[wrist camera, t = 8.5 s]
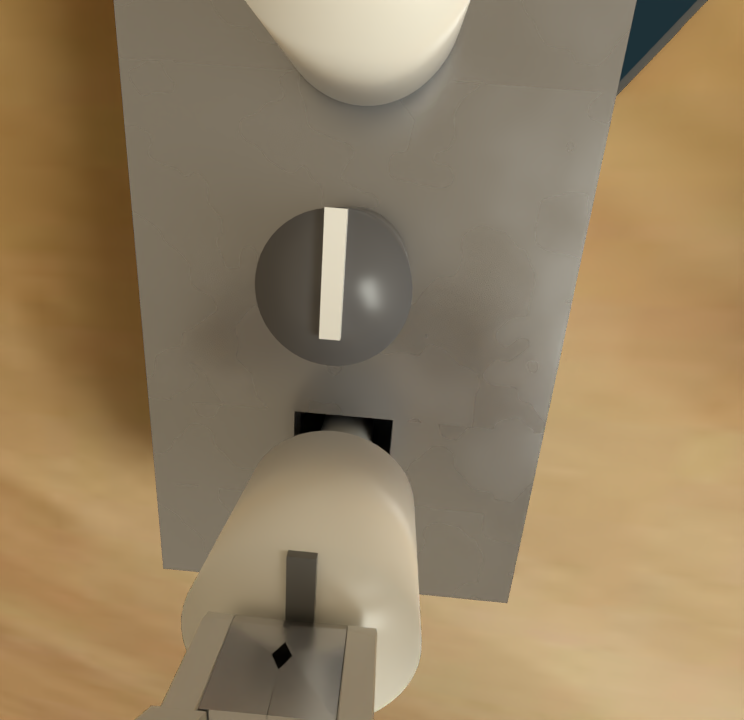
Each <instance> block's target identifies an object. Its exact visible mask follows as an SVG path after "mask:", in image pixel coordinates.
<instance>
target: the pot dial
mask: <svg viewBox="0 0 744 720" xmlns="http://www.w3.org/2000/svg"><path fill="white" fill-rule="evenodd" d="M412 290H413V286H412V276H411V271H410V266H409V260H408V255H407V251H406V247H405V244H404V241H403V239H402V237H401V235H400V234H399V232H398V231H397V229H396V228H395V227H394V226H393V225H392V224H391V222H389V221H388V220H387V219H386V218H385V217H383V216H381V215H380V214H378V213H376V212H374V211H372V210H369V209H365V208H360V207H334V208H332V207H325V208H321V209H315V210H311V211H307V212H304V213H302V214H299V215H297V216H295V217H293V218H292V219H290V220H288V221H287V222H286V223H284V224H283V225H282V226H281V227H279V228H278V229H277V230H276V231H275V233H274V234H273V235H272V236H271V237H270V239H269V240H268V242H267V243H266V244H265V246H264V248H263V250H262V252H261V254H260V257H259V260H258V263H257V268H256V273H255V295H256V300H257V305H258V308H259V311H260V314H261V316H262V318H263V320H264V323H265V324H266V326H267V327H268V329H269V331H270V332H271V333H272V335H273V336H274V337H275V338H276V339H277V340H278V341H279V342H280V343H281V344H282V345H283V346H284V347H285V348H286V349H288V350H289V351H291V352H292V353H294V354H295V355H297V356H299V357H301V358H303V359H305V360H308V361H310V362H313V363H317V364H321V365H328V366H344V365H351V364H356V363H359V362H362V361H365V360H368V359H370V358H372V357H373V356H375V355H377V354H378V353H380V352H381V351H383V350H384V349H385V348H386V347H387V346H389V345H390V344H391V343H392V342H393V340H394V339H395V338H396V337H397V336H398V334H399V333H400V331H401V330H402V328H403V326H404V324H405V322H406V320H407V318H408V314H409V311H410V308H411V302H412Z"/></svg>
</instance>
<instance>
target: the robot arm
mask: <svg viewBox="0 0 744 720" xmlns="http://www.w3.org/2000/svg"><path fill="white" fill-rule="evenodd" d="M347 627H348V631H347ZM376 654H377V629H376V628H367V627H357V626H348V625H341V624H329V623H317V622H305V621H285V620H277V619H269V618H261V617H253V616H246V615H238V614H237V615H236V614H227V613H219V612H210V611H208V612H207V613H206V615H205V616H204V617H203V618H202V619H201V621H200V623H199V626H198V628H197V630H196V632H195V634H194V636H193V638H192V640H191V643H190V645H189V647H188V649H187V651H186V653H185V655H184V658H183V660H182V662H181V664H180V666H179V668H178V670H177V672H176V675H175V677H174V679H173V681H172V683H171V685H170V687H169V689H168V692H167V694H166V696H165V698H164V700H163V702H162V704H161V706H150V707H149V708H148V709H147V710H145V711H144V712H143V713H142V714H141V715H140V716H138V717H137V718H136V719H135V720H374V701H375V678H376Z"/></svg>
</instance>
